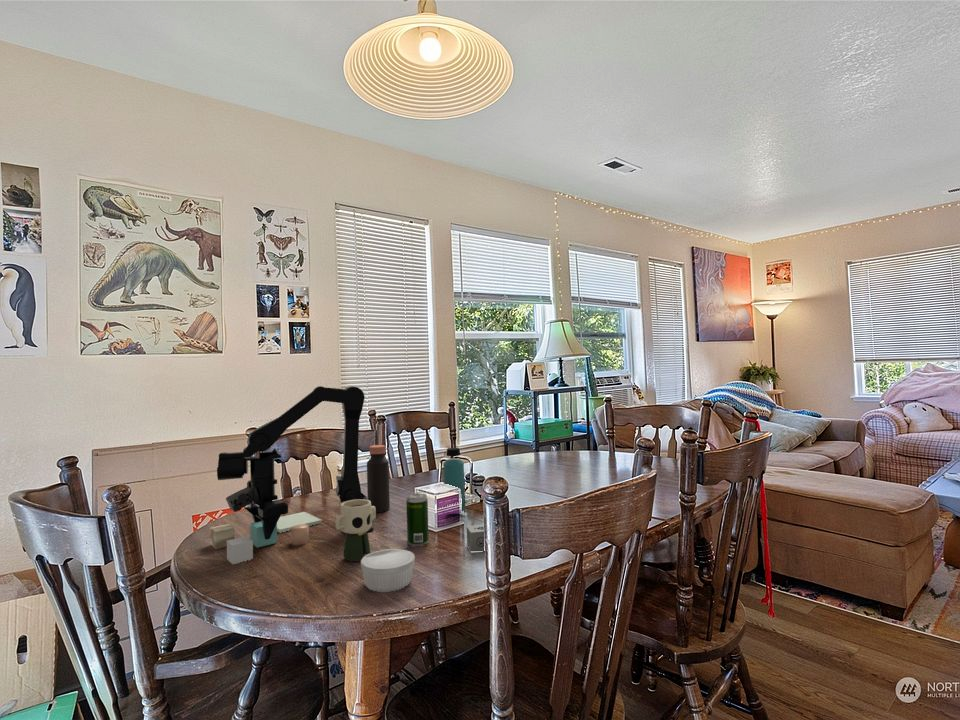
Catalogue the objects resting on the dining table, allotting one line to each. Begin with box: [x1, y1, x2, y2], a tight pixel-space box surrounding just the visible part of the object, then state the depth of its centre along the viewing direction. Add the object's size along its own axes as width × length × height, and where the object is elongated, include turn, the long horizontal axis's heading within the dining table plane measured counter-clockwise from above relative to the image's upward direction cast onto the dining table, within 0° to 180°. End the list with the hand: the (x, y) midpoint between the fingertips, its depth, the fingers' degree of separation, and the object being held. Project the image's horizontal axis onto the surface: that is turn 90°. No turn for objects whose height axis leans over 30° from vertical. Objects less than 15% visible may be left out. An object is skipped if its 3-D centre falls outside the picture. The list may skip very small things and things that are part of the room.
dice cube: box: [466, 524, 485, 553], centre depth 124 cm, size 5×5×5 cm
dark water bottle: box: [366, 444, 391, 513], centre depth 160 cm, size 7×7×20 cm
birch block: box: [209, 523, 235, 550], centre depth 131 cm, size 4×4×4 cm
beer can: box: [405, 492, 429, 547], centre depth 128 cm, size 5×5×12 cm
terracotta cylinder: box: [290, 524, 310, 546], centre depth 131 cm, size 4×4×4 cm
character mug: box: [335, 499, 377, 562], centre depth 119 cm, size 11×7×13 cm, turn 138°
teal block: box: [249, 521, 278, 548], centre depth 131 cm, size 5×5×5 cm
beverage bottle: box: [442, 447, 467, 512], centre depth 152 cm, size 6×7×20 cm
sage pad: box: [277, 511, 323, 534], centre depth 147 cm, size 12×12×1 cm
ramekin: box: [360, 548, 416, 593], centre depth 105 cm, size 11×11×5 cm
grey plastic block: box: [226, 535, 254, 565], centre depth 121 cm, size 4×4×4 cm
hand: (263, 536), depth 131 cm, fingers closed on teal block, 5 cm apart
